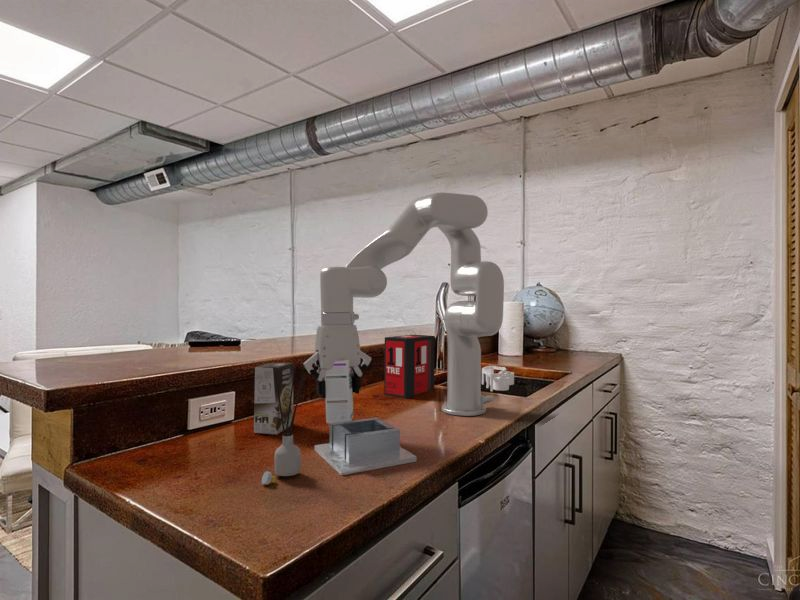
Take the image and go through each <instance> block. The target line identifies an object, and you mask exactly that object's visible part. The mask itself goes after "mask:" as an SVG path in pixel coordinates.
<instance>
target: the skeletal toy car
mask: <svg viewBox="0 0 800 600" xmlns="http://www.w3.org/2000/svg"><path fill="white" fill-rule="evenodd" d="M495 370H498V371H499V372H498V373H495ZM485 382H486V386H485V387H486V389H489V388H490V392H493V391H494V390H495V391H509V389H510V386H512V385H515V372H512V371H509V370H507V368H506V367H505V366H497V365H488V366H484V367H481V385H485Z"/></svg>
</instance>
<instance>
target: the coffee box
mask: <svg viewBox="0 0 800 600" xmlns="http://www.w3.org/2000/svg"><path fill="white" fill-rule="evenodd" d="M275 371H276V373H277V380H278V388H279V395H280V402H281V409H282V416H283V423H284V430H285V431H286V426H287V418H288V411H289V403H290V395H291V388H292V380H293V372H294V362H270V363H266V364H261V365H257V366H255V367H254V398H253V399H254V401H253V403H254V404H253V405H254V407H253V408H254V409H253V410H254V411H253V413H254V414H253V415H254V416H253V433H254V434H265V435H274V434H275V435H279V434H280V433H282V432H283V427H282V420H281V413H280V406H279V398H278V391H277V384H276V377H275ZM293 413H294V390H293V391H292V399H291V407H290V414H289V422H288V428H289V427H290V424H291V420H292V417H293Z"/></svg>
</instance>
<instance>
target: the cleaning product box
mask: <svg viewBox="0 0 800 600" xmlns="http://www.w3.org/2000/svg"><path fill="white" fill-rule="evenodd" d="M435 337H436V336H435V335H425V334H408V335H407V334H406V335H395V336H385V337H384V363H383V365H384V367H383V368H384V371H383V372H384V378H383V379H384V380H383V381H384V384H383V388H384V390H383V391H384V392H383V394H384V395H385V396H389V397H394V398H401V399H403V400H404V399H410V398H413V397H416V396H418V395H419V396H420V395H422V394H425V393H428V392H433V391H435V339H436V338H435ZM384 395H383V396H384Z"/></svg>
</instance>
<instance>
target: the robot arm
mask: <svg viewBox="0 0 800 600" xmlns="http://www.w3.org/2000/svg"><path fill="white" fill-rule="evenodd" d="M488 214H489V212H488V207H487V204H486V202H485V201H484V199H482V198H481V197H479V196H477V195H475V194H464V193H456V192H454V193H453V192H440V191H439V192H434V193H430V194H427V195H423V196H420V197H417V198H415V199H413V200H412V201H410V203H409V204H408V205H407V206H406V207H405V208H404V209H403V210H402V211H401V213H400V214H398V216H397V217H396V218H395V219H394V221H393V222H392V223H391V224H390V225H389V227H387V229H386V230H385V231H384V232H383V233H381V234H380V235H379V236H377V237H376V238H375V239H374V240H372V241H371V242H370V243H369V244H367V245H366V246H364V247H363V248H362V249H361V250H360V251H359V252H358V253H356V254H355V255H354V256H353V257H352V258H351V260H350V261H349V262H348V263H347V264H346V265H345V266H330V267H329V266H328V267H324V268H322V269H321V271H320V274H319V276H320V277H319V278H320V279H319V287H320V315H321V316H320V318H321V319H320V323H321V324H320V325H319V326H317V328H316V333H315V335H316V336H315V342H314V353H313V354H312V355H311V356H310V357H309V358H308V359H306V360H305V361H304V362H303V364H302V366H304V367H305V370H306V371H307V372H308V374H309V375H310V376H312V377H313V378H314V379H315V380H316V381H315V382H316V389H315V390H316V395H318V397H319V398H321V399H325V397H326V387H325V380H324V376H325V374H326V373H327V370H329V369H332V368H333V365H334V362H336V360H349V366H350V368H352V388H353V393H354V394H356V395H358V394H360V390H361V389H362V385H361V383H362V381H361V377H362V376H363V373H364V372H365V371H366V370H367V369H368V366H369V365H370V363H371V361H372V357H371V356H369V355H368V354H366V352H363V351H362V350H361V344H360V337H359V333H358V328H357V327H358V326H357V325H356V324H355V321H357V320H359V318H360V315H359V314H358V313H357V314H356V313H355V311H354V298H361V299H363V298H375V297H378V296H380V295H381V294H383V293H384V291H385V290H386V288H387V284H388V278H387V276H386V274H385V272H384V271H383V269H384V268H386V267H387V266H389V265H391V264H393V263H396V262H399V261H400V260H402V259H404V258H405V257H407V256H409V255H410V254H411V253H412V252H413V250H414V249H415V248H416V247H417V246H418V244H419V243H420V242H421V240H422V239H424V237H425V236H426V235H427V233H428V232H429V231H430V230H431V229H433V228H438V229H439V230H440V232H441V233H442V234H443V235H444V236H445V237H446V239H447V241H448V243H449V247H450V288H451V291H452V292H453V293H454V294H455V295H457V296H464V297H476V300H458V301H455V302H451V304H449V305H448V306H447V308H446V309H445V311H444V315H443V318H444V320H443V321H444V327H445V333H446V341H447V344H446V345H447V360H446V361H447V369H446V370H447V374H446V375H447V378H446V379H447V382H446V383H447V385H446V388H447V389H446V392H447V395H446V397H447V398H446V403H444V404H442V405H441V411H442V412H443V413H445V414H448V415H453V416H460V417H461V416H463V417H465V416H466V417H472V416H473V417H474V416H475V417H476V416H481V415H483V414H486V413H487V407H486V406H485V404H486V403H488V404H489V403H494V402H495V398H494V396H493V395H484V394H482V393H481V392H482V390H481V389H482V388H481V387H482V386H481V385H482V360H481V359H482V349H481V344H480V341H479V339H478V336H479V337H480V336H481V337H489V336H490V337H491V336H494V335H496V334H497V333H498V332H499V331H500V329H501V328H502V324H503V322H504V321H503V319H504V298H505V297H504V296H505V294H504V293H505V280H504V275H503V272H502V270H501V268H500V266H498V264H496V263H495V262H492V261H482V256H481V255H482V252H481V251H482V249H481V242H480V240H479V237H478V236H477V234H476V233H475V231H474V230H473V229H476V228H478V227H481V226H482V225H483V224H484V223H485V222H486V220H487V217H488ZM361 361H362V362H361ZM313 364H314V365H315V367H317V368H318V369H317V370H315V369H314V367H313Z"/></svg>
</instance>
